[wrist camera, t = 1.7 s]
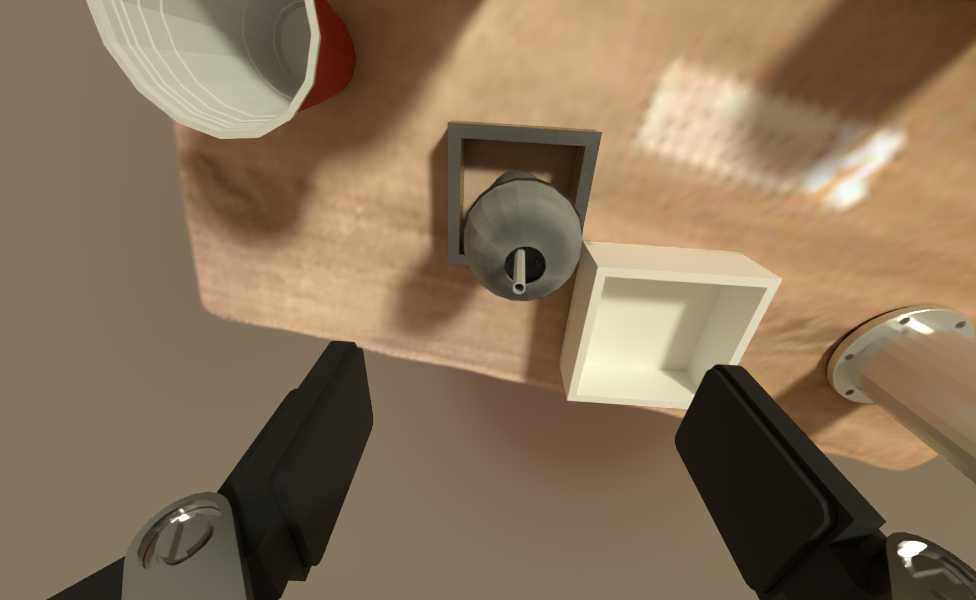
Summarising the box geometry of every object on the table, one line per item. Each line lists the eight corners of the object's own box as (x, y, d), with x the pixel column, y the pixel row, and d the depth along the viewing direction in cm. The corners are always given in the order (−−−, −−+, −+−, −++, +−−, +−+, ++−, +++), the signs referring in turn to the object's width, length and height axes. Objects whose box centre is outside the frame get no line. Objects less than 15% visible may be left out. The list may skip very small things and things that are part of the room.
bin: (737, 251, 33) (782, 279, 28) (685, 370, 40) (713, 410, 35) (583, 240, 33) (598, 266, 28) (558, 361, 40) (566, 400, 35)
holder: (592, 129, 28) (601, 132, 26) (568, 259, 34) (574, 272, 31) (452, 120, 28) (447, 122, 26) (452, 251, 34) (447, 264, 31)
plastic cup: (391, -32, 24) (304, -138, 14) (387, 138, 29) (322, 157, 19) (230, -66, 23) (10, -202, 13) (256, 114, 29) (114, 119, 18)
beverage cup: (496, 247, 34) (488, 402, 16) (461, 176, 30) (403, 271, 13) (568, 215, 32) (647, 350, 14) (538, 136, 29) (592, 185, 11)
